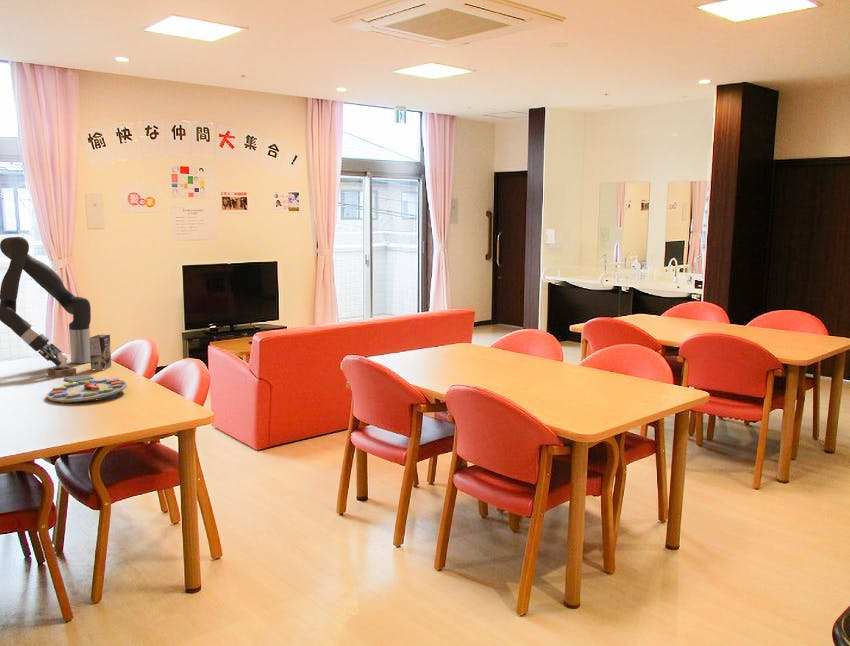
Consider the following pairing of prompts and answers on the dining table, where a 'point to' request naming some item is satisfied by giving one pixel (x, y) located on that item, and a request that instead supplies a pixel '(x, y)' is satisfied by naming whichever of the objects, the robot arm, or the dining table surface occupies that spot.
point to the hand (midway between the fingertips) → (62, 362)
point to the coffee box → (100, 352)
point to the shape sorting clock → (87, 390)
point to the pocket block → (61, 372)
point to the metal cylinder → (62, 359)
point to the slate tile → (78, 378)
